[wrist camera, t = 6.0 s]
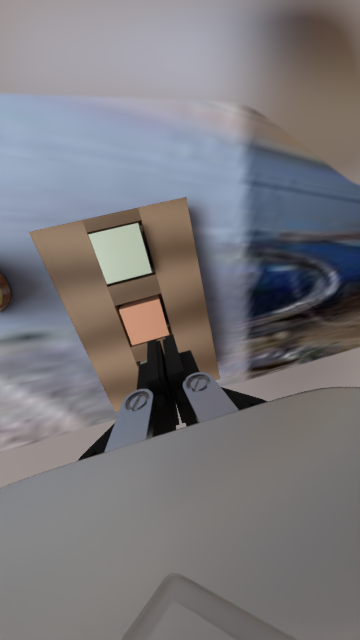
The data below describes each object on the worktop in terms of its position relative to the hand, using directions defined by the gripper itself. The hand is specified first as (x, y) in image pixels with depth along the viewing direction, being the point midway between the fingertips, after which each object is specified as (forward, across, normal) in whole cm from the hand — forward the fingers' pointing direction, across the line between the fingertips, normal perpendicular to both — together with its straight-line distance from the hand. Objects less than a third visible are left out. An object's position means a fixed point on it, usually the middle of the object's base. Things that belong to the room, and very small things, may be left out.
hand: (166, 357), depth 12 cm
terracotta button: (+11, +2, 0) cm, 12 cm away
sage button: (+10, +2, -7) cm, 12 cm away
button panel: (+13, +2, 0) cm, 13 cm away
